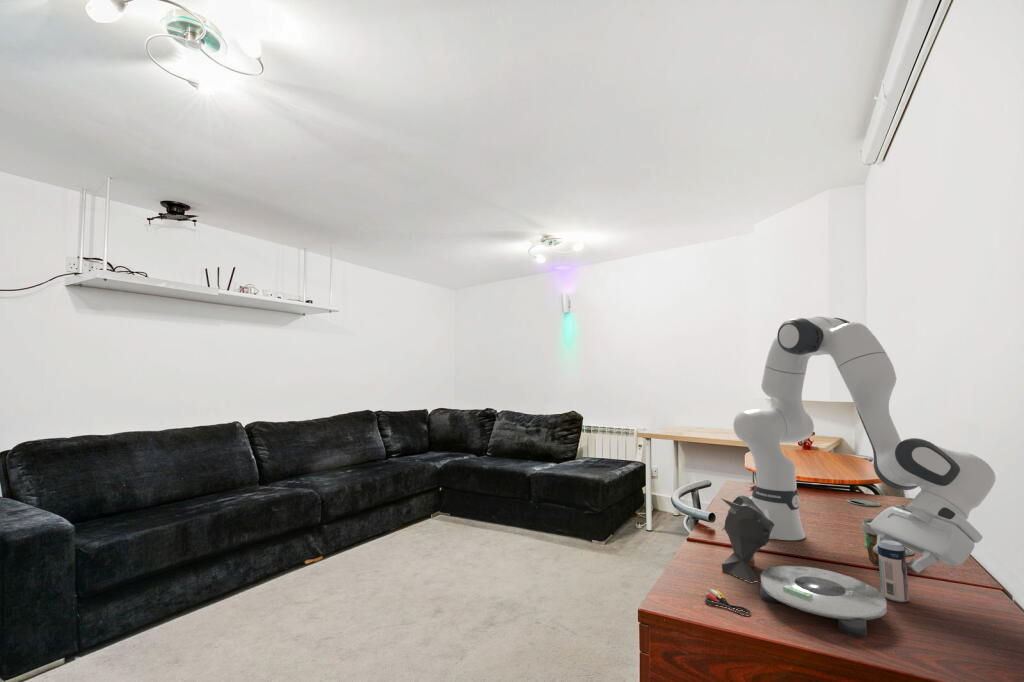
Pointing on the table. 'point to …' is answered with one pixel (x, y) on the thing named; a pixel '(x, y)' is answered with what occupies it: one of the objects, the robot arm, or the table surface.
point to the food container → (870, 540)
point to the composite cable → (722, 601)
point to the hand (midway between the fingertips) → (894, 560)
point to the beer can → (893, 570)
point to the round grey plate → (824, 595)
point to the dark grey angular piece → (745, 536)
